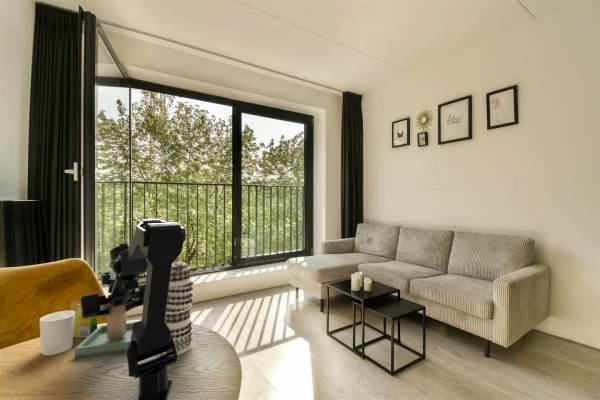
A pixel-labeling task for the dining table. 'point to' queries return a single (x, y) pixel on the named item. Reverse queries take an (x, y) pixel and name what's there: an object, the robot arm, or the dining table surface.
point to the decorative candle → (179, 306)
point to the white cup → (57, 332)
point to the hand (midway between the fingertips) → (115, 313)
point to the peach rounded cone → (116, 322)
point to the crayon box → (82, 322)
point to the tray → (103, 343)
